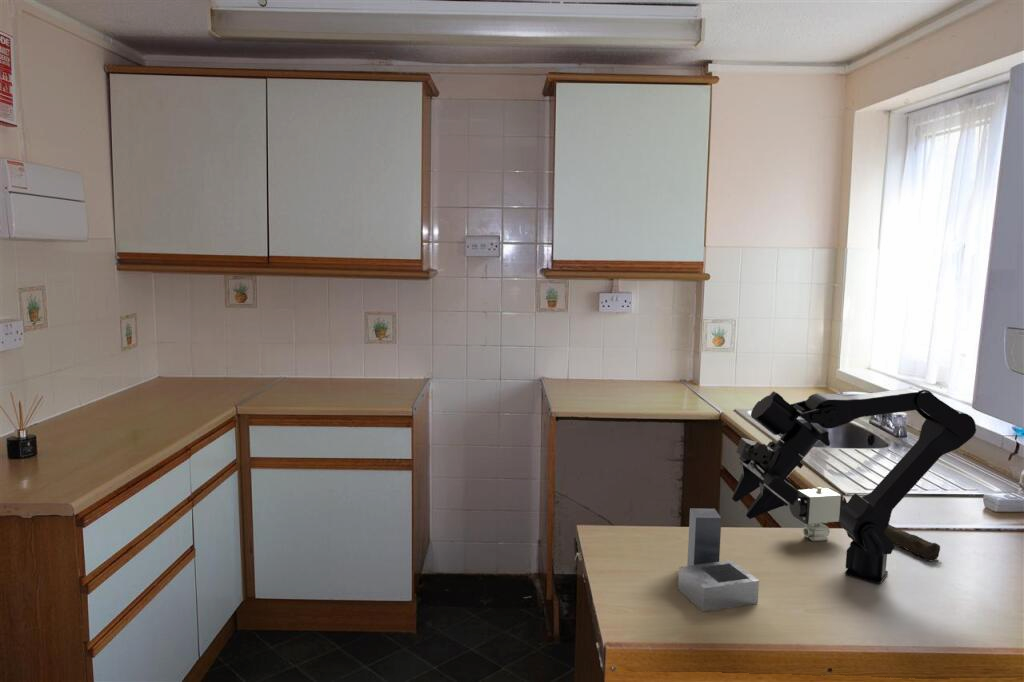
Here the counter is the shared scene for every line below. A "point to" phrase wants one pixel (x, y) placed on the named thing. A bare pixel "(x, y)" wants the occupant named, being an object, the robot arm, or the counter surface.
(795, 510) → the pneumatic valve
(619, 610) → the counter surface
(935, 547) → the hand tool
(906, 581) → the counter surface
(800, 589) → the counter surface
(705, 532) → the peg
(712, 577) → the block with rectangular hole
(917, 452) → the robot arm
